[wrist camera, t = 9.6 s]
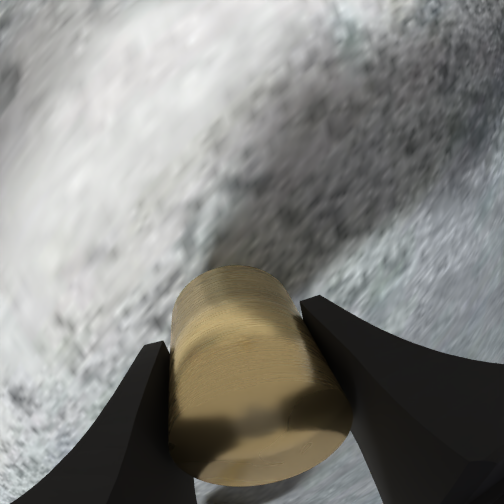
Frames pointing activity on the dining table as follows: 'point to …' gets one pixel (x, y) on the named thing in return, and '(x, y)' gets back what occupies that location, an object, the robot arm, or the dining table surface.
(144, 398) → the robot arm
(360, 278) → the dining table surface
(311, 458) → the cylinder
